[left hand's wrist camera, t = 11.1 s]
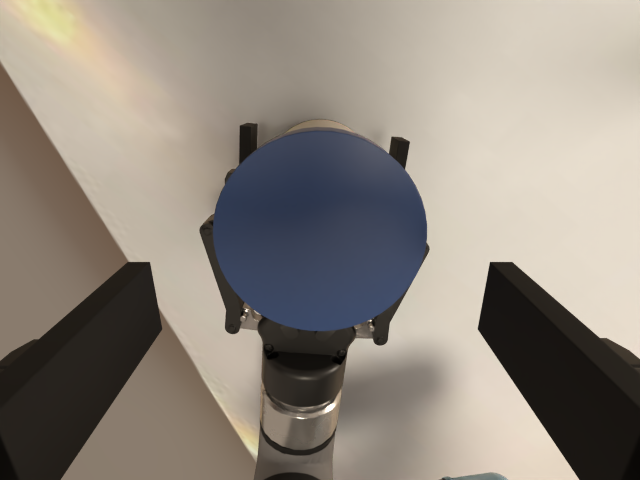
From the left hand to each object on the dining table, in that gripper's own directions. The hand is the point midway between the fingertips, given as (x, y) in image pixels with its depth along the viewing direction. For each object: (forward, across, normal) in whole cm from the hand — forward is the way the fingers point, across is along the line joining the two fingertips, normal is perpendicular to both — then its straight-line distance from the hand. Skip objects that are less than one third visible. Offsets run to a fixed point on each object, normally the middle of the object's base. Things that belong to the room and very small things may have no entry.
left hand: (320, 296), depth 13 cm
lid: (+6, 0, 0) cm, 6 cm away
